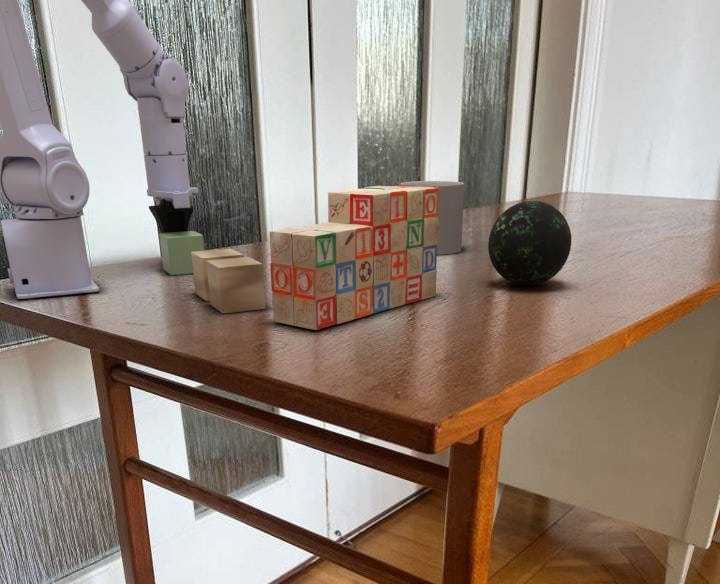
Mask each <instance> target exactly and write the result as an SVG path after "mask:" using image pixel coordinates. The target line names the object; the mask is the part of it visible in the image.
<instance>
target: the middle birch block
mask: <svg viewBox="0 0 720 584" xmlns="http://www.w3.org/2000/svg"><path fill="white" fill-rule="evenodd" d="M191 255H192V264H193V273H192V274H193V283H194V291H195V295H197V296H198V297H199V298H201V299H202V300H204V301H205V302H210V293H209V283H208V273H207V262H206V261H207V260H219V259H230V258H242V257H245V256H244V254H243V253H242V252H239V251H237V250H235V249H233V248H222V249H210V250H205V251H195V252H191Z"/></svg>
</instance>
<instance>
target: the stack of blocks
mask: <svg viewBox="0 0 720 584" xmlns="http://www.w3.org/2000/svg"><path fill="white" fill-rule="evenodd" d="M327 202H328V203H327V213H328V214H327V219H328V220H327V222H322V223H315V224H307V225H300V226H292V227H287V228H281V229H275V230H274V229H273V230H269V249H270V250H269V252H270V263H269V268H270V284H271V285H270V287H271V298H272V300H271V301H272V314H273V315H272V316H273V322H275V323H279V324H285V325H289V326H295V327H299V328H304V329H309V330H313V331H318V330H322V329H325V328H328V327H331V326H334V325H339V324H342V323H343V324H344V323H347V322H350V321H354V320H355V319H356V320H357V319H360V318H363V317H367V316H370V315H371V316H372V315H374V314H377V313H380V312H385V311H388V310H391V309H393V308H397V307H400V306H404V305H409V304H412V303H415V302H419V301H422V300H426V299H429V298H433V297H435V296H436V294H437V273H438V270H437V261H438V259H437V258H438V255H437V243H438V225H439V216H438V205H439V188H435V187H419V186H418V187H413V186H400V185H375V186H364V187H363V188H353V189H347V190H338V191H337V190H336V191H328V192H327Z"/></svg>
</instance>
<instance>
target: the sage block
mask: <svg viewBox="0 0 720 584" xmlns="http://www.w3.org/2000/svg"><path fill="white" fill-rule="evenodd" d="M158 235H159V244H160V252H161V261H162V269H163V271H165V272H166V273H168V274H169V275H170V276H178V275H179V276H180V275H192V274H193V264H192V255H191V252H195V251H206V250H205V242H204V235H203V234H201V233H199V232H197V231H196V230H188V231H186V232H171V233H161V232H159V233H158Z"/></svg>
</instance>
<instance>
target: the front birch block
mask: <svg viewBox="0 0 720 584" xmlns="http://www.w3.org/2000/svg"><path fill="white" fill-rule="evenodd" d="M206 262H207V273H208V283H209V293H210V301H209V303H210V306H212V307H213V308H214V309H215V310H217V311H218V312H219V313H220V314H223V315H224V314H225V315H226V314H232V313H242V312H251V311H258V310H266V295H265V294H266V293H265V282H264V281H265V280H264V279H265V278H264V265H263V263H262V262H260V261H258V260H256V259H254V258H252V257H250V256H244V257H242V258H230V259H219V260H207V261H206Z"/></svg>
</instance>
